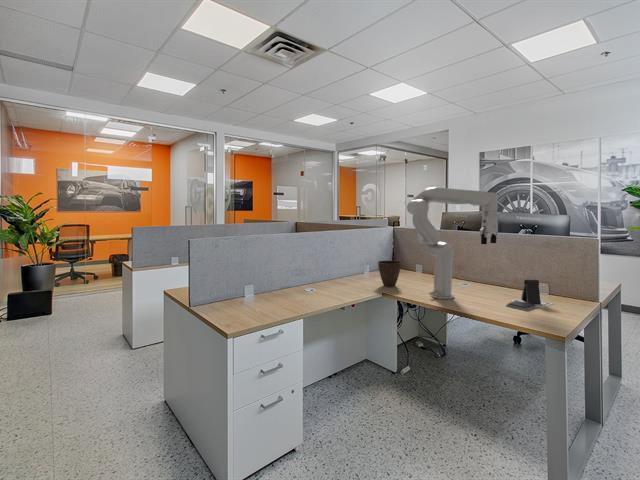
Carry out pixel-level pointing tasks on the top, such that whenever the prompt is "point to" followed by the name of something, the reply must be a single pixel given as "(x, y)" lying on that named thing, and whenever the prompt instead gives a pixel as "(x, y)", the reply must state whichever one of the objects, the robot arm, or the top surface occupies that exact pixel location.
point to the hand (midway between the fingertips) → (488, 243)
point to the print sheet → (535, 304)
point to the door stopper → (531, 292)
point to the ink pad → (521, 305)
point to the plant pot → (389, 272)
